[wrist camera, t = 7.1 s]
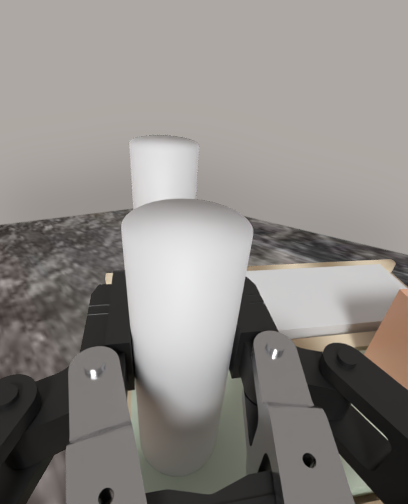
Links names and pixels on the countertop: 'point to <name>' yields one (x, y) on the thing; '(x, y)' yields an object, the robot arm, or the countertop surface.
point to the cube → (392, 340)
